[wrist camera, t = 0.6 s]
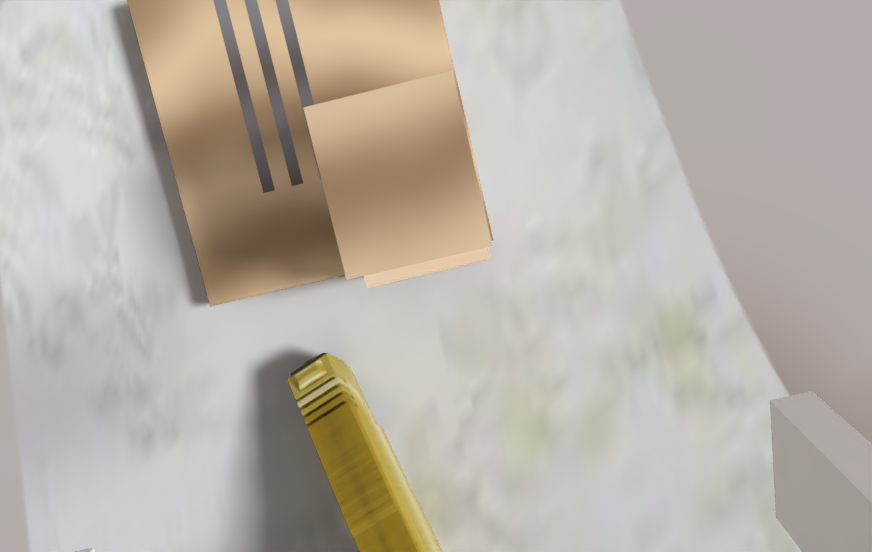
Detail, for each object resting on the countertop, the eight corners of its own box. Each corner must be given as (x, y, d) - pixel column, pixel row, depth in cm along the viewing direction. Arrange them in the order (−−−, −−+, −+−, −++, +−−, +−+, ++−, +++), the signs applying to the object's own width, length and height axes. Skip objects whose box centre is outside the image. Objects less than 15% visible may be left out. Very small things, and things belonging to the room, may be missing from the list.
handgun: (518, 715, 34) (456, 803, 23) (373, 408, 42) (279, 370, 32) (557, 692, 33) (513, 771, 23) (404, 389, 42) (320, 344, 31)
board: (491, 239, 33) (493, 240, 32) (221, 302, 34) (210, 306, 33) (421, -69, 32) (419, -83, 30) (140, 4, 33) (125, -6, 31)
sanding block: (484, 252, 32) (497, 267, 23) (379, 276, 32) (351, 301, 23) (448, 95, 31) (447, 47, 22) (341, 121, 31) (297, 85, 22)
